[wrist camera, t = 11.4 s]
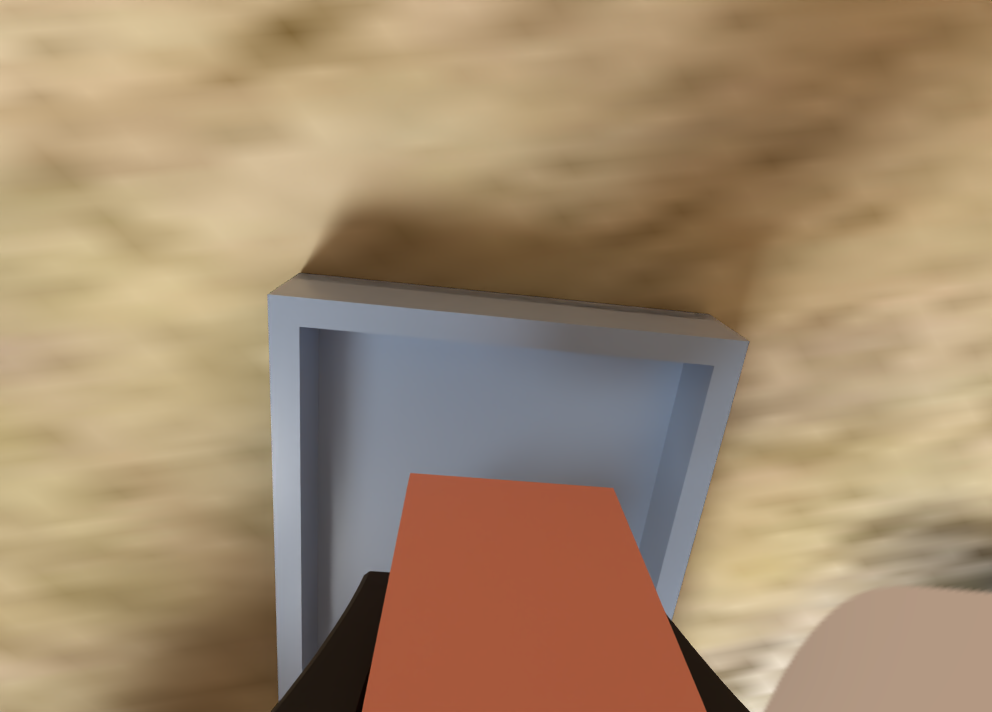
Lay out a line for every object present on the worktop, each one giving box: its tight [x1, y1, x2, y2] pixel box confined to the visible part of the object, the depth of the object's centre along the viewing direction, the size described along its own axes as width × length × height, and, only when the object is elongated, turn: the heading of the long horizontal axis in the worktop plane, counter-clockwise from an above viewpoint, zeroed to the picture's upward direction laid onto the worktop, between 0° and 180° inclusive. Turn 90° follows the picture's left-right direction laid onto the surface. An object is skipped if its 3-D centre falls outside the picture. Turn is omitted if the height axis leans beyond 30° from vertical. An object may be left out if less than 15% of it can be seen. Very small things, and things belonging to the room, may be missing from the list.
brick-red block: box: [362, 473, 707, 712], centre depth 10 cm, size 4×4×6 cm
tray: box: [268, 273, 749, 701], centre depth 19 cm, size 18×13×3 cm
